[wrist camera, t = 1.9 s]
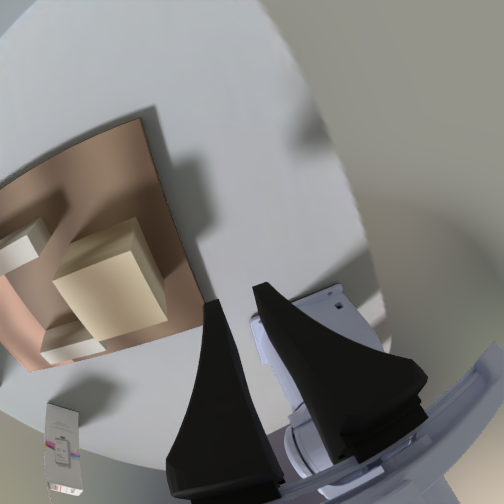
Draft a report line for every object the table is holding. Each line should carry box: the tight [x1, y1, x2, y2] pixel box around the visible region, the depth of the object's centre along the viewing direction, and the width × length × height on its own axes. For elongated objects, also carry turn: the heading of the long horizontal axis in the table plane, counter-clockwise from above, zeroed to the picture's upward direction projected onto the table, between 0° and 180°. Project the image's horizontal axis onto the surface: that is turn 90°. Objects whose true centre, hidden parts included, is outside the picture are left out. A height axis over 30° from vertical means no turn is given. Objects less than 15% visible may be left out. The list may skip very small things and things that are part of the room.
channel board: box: [0, 118, 205, 372], centre depth 15 cm, size 21×16×4 cm
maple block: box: [52, 217, 168, 342], centre depth 15 cm, size 5×5×4 cm
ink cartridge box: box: [44, 403, 84, 504], centre depth 19 cm, size 9×5×15 cm, turn 145°
